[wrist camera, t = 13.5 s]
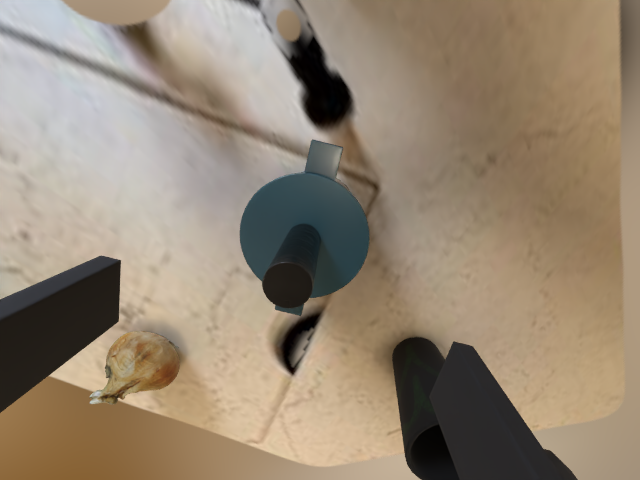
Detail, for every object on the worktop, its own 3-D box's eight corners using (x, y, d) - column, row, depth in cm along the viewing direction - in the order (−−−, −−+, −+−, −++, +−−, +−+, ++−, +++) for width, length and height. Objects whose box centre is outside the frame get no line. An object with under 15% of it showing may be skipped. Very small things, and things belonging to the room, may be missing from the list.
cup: (392, 324, 34) (420, 411, 23) (456, 336, 34) (516, 428, 23) (377, 376, 37) (395, 479, 25) (436, 387, 37) (482, 495, 25)
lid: (384, 190, 22) (414, 215, 14) (349, 304, 25) (356, 385, 17) (254, 157, 22) (202, 163, 13) (235, 276, 25) (181, 344, 16)
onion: (186, 377, 38) (149, 433, 31) (126, 360, 38) (73, 413, 30) (195, 328, 36) (157, 376, 28) (131, 311, 36) (75, 355, 28)
